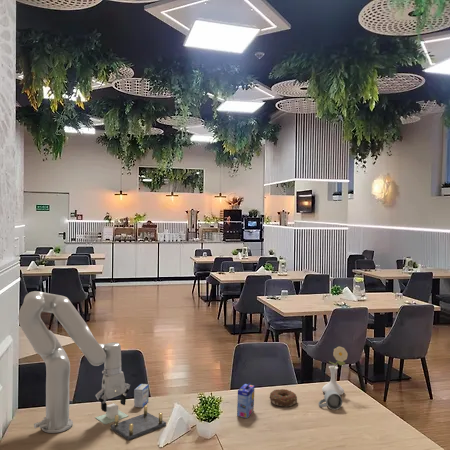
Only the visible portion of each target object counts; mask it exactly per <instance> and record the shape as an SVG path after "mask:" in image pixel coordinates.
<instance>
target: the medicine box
mask: <svg viewBox="0 0 450 450" xmlns="http://www.w3.org/2000/svg"><path fill="white" fill-rule="evenodd" d="M133 396H134V397H133V400H134V401H133V404H134V405H133V406H134V408H142V409H144V405H147V403H149V384H147V383H140V384H139V385H138V386H137V387H136V388H134V391H133Z"/></svg>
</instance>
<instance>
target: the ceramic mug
mask: <svg viewBox="0 0 450 450" xmlns="http://www.w3.org/2000/svg"><path fill="white" fill-rule="evenodd" d="M323 397H324V398H323V399H321V400H320V401H318V406H319V407H320V408H325V407H328V408H329V409H330V410H334V411H337V410H339V409H340V408H341V407H342V405H343V398H342V396H341V395H339V394H338V393H337V392H336V391H334V390H328V391H327V392H326V393H324V396H323Z"/></svg>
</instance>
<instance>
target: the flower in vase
mask: <svg viewBox="0 0 450 450" xmlns="http://www.w3.org/2000/svg"><path fill="white" fill-rule="evenodd" d="M348 355H349V354H348V352H347V350H346V348H345V347H342V346H337V347H336V348H333V358H334V359H335V360H336V362H335V363H334V362H331V361H330V360H328V362H329V364H332V365H329V366H328V369H329V371H330V381H329V382H327V383H325V384H324V385H323V387H322V388H321V390H322V392H323V393H324V394H325V393H326V392H327V391H328V390H334V391H336V392H337V393H338V394H339V395H340V396H341V395H343V394H345V389H344V388H343V387H342V386H341V385H340V383H338V382H337V380H336V373H337V370H338V369H339V367H338V366H336V365H337V364H338V365H339V366H344V365H346V362H345V361H346V360H347V359H348Z"/></svg>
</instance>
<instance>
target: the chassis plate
mask: <svg viewBox="0 0 450 450" xmlns="http://www.w3.org/2000/svg"><path fill="white" fill-rule="evenodd" d="M166 426H167V422H166V421H165V420H163V413H162V412H159V413H158V417H157V416H155V415H153V414H152V413H150V412H148V405H147V404H145V405H144V407H143V413H142V414H139V415H137V416H134V417H131V418H129V419H125V420H123V421H120V422H119V415H115V421H114V424H112V425H110V430H111V431H114V432H115V433H117V434H118V435H120V436H121V437H123V439H126V440H128V441H132V440H133V439H136V438H138V437H141V436H143V435H146V434H149V433H151V432H153V431H156V430H159V429H161V428H164V427H166Z"/></svg>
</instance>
